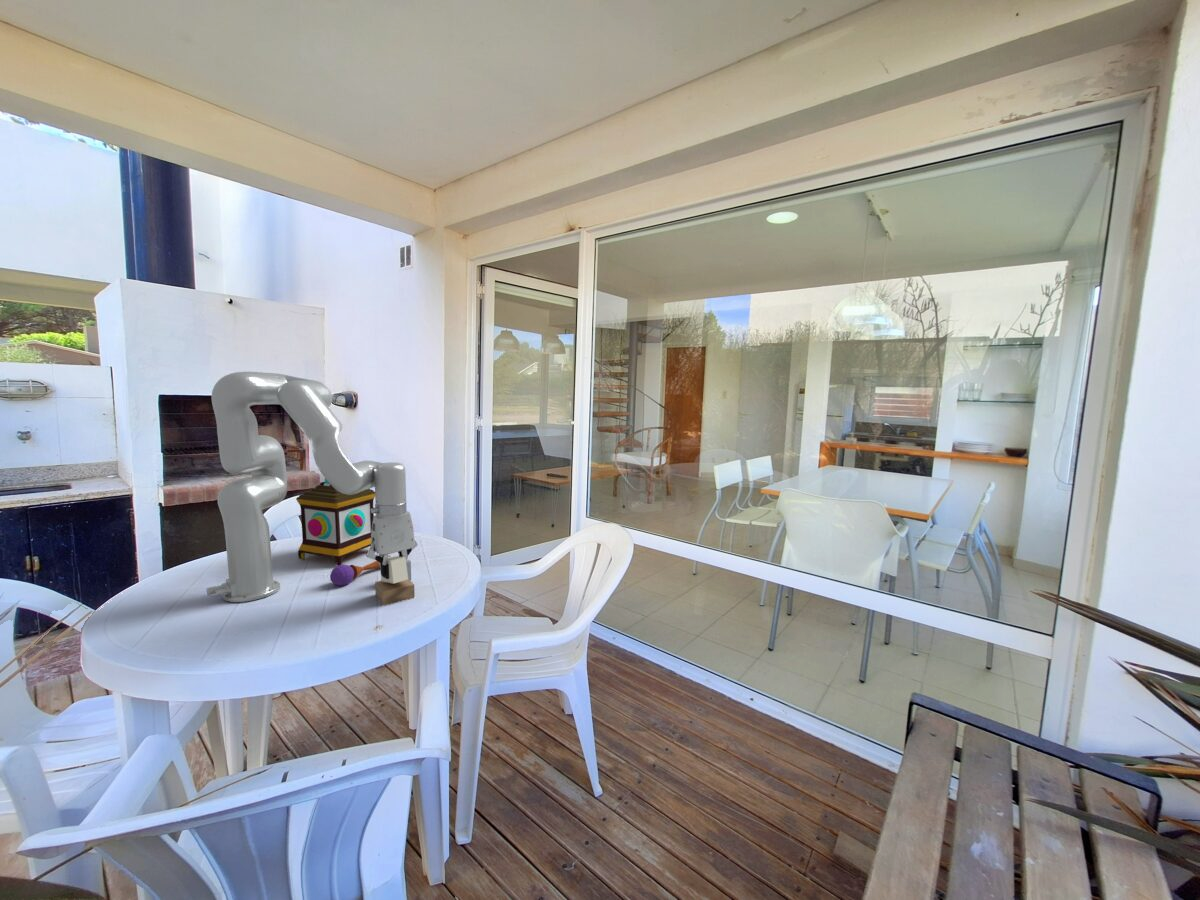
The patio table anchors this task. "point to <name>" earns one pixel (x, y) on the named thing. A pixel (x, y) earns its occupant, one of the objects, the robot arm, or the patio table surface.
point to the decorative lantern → (335, 521)
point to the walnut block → (394, 591)
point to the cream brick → (396, 569)
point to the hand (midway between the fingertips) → (393, 574)
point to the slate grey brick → (408, 568)
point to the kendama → (349, 572)
